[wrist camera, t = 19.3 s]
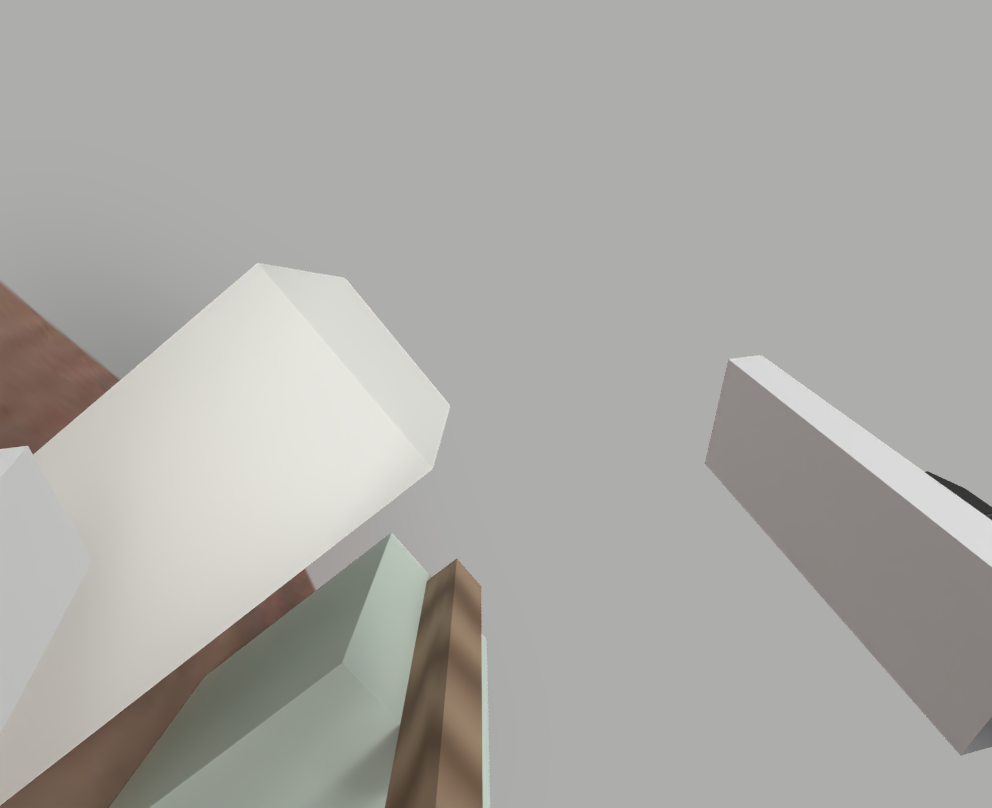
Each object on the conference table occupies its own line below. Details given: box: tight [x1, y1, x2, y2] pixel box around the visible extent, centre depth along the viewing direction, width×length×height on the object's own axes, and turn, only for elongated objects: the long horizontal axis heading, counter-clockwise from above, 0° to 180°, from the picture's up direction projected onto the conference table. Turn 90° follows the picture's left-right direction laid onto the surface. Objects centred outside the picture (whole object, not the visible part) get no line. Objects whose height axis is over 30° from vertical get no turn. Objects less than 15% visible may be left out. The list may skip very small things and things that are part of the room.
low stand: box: [109, 533, 490, 808], centre depth 38 cm, size 16×12×20 cm
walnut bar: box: [385, 559, 483, 808], centre depth 31 cm, size 24×3×3 cm, turn 3°
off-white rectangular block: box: [0, 263, 450, 805], centre depth 34 cm, size 16×12×30 cm
